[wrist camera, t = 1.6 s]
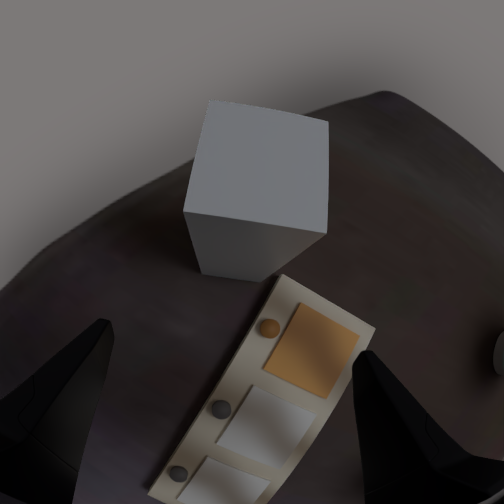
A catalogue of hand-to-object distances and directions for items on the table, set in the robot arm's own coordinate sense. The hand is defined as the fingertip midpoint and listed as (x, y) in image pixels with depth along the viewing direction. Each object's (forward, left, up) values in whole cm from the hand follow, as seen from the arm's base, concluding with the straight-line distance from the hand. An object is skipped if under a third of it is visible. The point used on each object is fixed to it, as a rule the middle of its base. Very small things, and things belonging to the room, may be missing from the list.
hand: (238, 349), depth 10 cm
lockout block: (+6, +2, -12) cm, 14 cm away
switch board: (-5, -6, -12) cm, 15 cm away
